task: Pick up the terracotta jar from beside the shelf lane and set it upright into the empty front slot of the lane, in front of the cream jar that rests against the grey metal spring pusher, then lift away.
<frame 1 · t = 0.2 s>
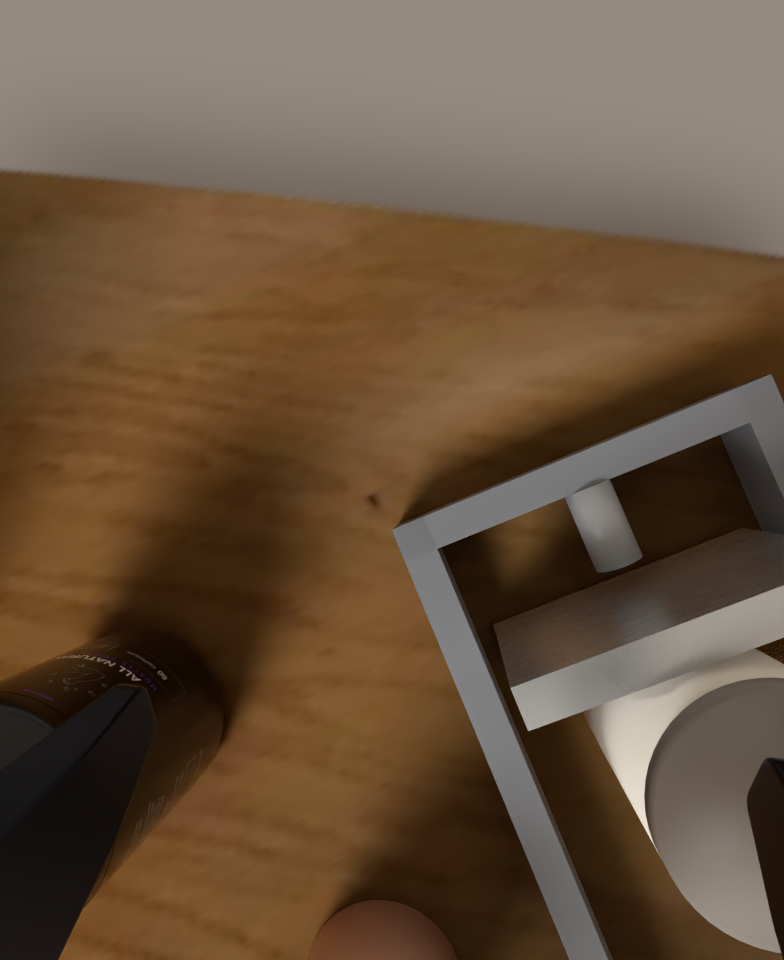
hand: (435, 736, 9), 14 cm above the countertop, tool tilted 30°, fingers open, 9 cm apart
cream jar: (660, 688, 22), resting in pusher lane
pusher lane: (690, 757, 22), on the countertop
spring pusher: (652, 613, 19), point 4 cm above the countertop, slide at 0.0 cm
supplement bottle: (149, 706, 25), on the countertop
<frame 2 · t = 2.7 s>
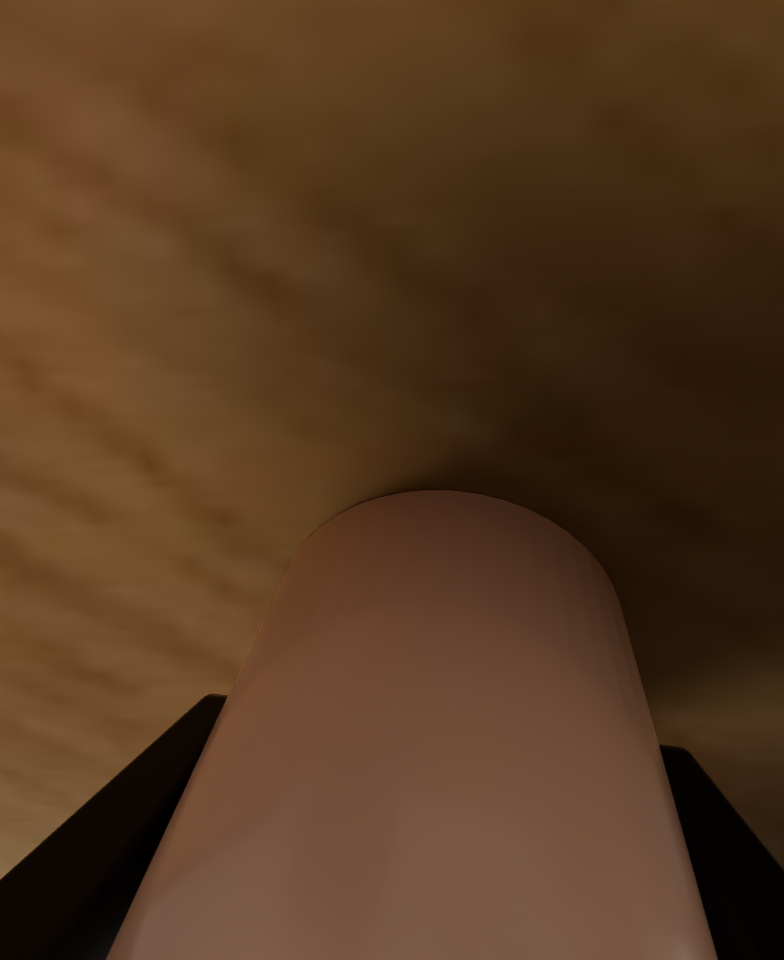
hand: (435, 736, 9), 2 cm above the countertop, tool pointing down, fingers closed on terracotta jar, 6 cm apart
terracotta jar: (443, 636, 11), on the countertop, touching gripper
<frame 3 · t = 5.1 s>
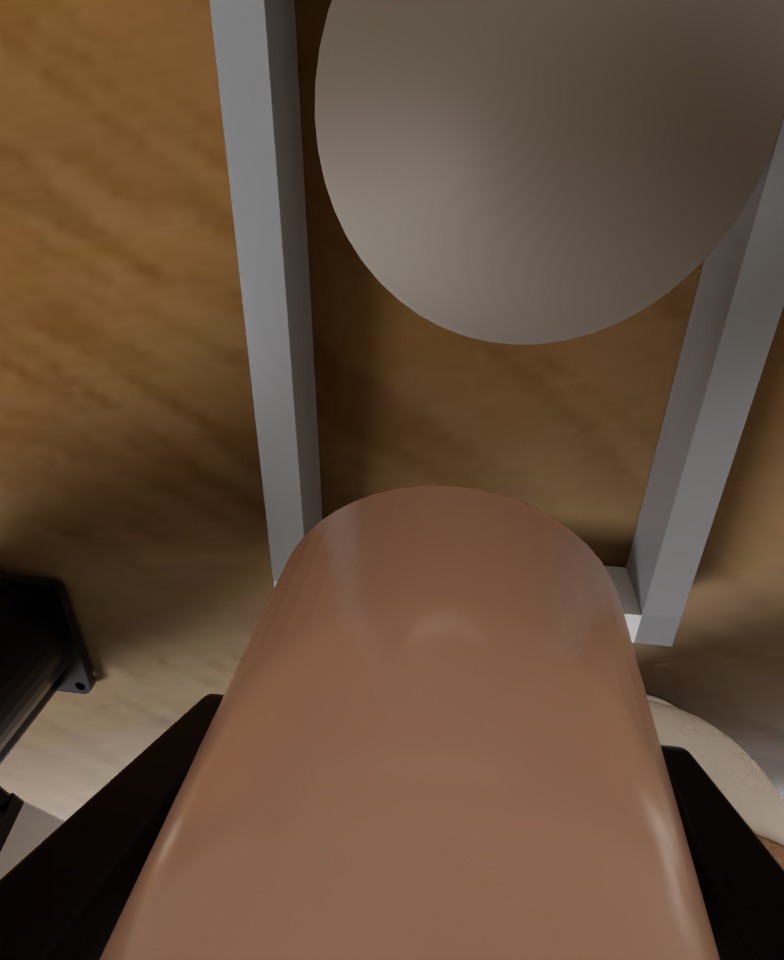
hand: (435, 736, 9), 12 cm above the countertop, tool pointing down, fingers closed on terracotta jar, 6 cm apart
cream jar: (511, 127, 16), resting in pusher lane
lidded jar: (617, 736, 26), on the countertop
pusher lane: (500, 240, 17), on the countertop
terracotta jar: (443, 633, 11), point 10 cm above the countertop, touching gripper
when the fingers open (3 cm above the countertop, at t = 7.7 s): terracotta jar drops 1 cm, resting in pusher lane.
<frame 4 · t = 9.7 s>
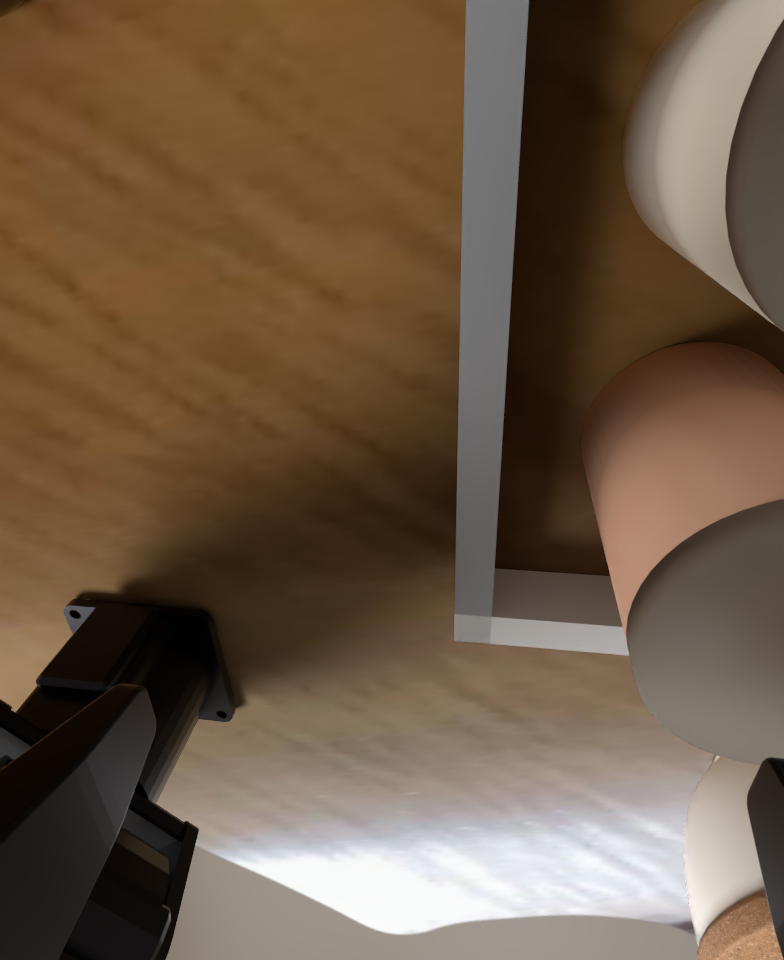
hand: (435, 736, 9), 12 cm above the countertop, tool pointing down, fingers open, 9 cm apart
cream jar: (757, 126, 14), resting in pusher lane
pusher lane: (730, 249, 15), on the countertop
terracotta jar: (684, 438, 18), resting in pusher lane
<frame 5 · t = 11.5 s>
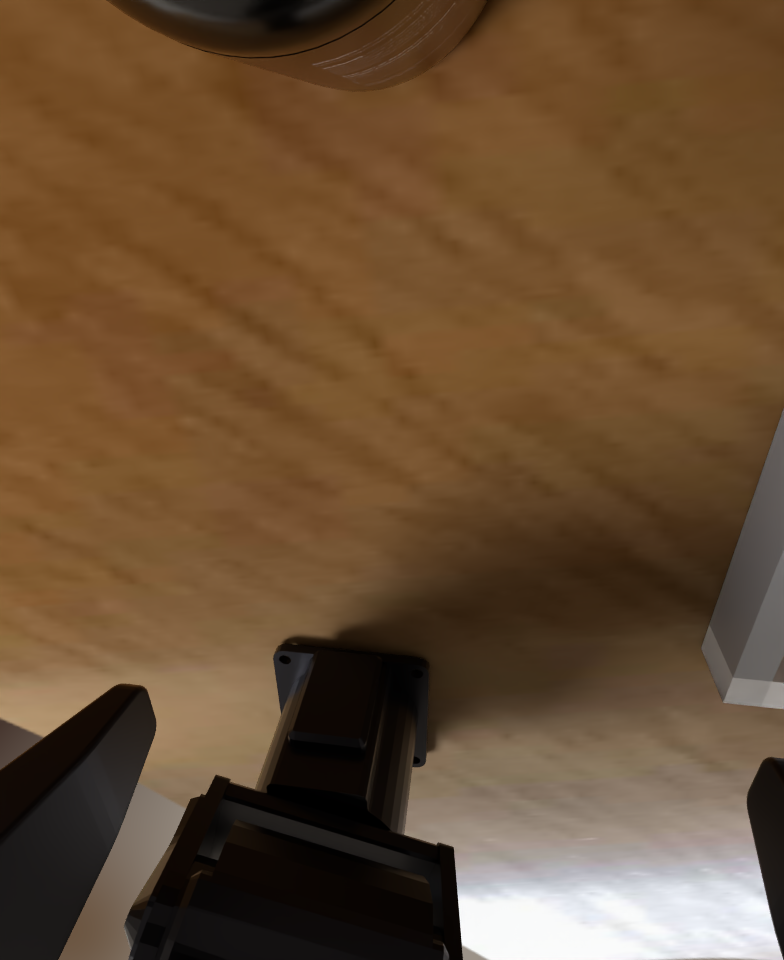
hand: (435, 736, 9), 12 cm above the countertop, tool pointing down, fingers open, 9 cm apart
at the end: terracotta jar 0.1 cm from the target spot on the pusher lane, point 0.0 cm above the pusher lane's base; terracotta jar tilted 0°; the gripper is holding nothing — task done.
